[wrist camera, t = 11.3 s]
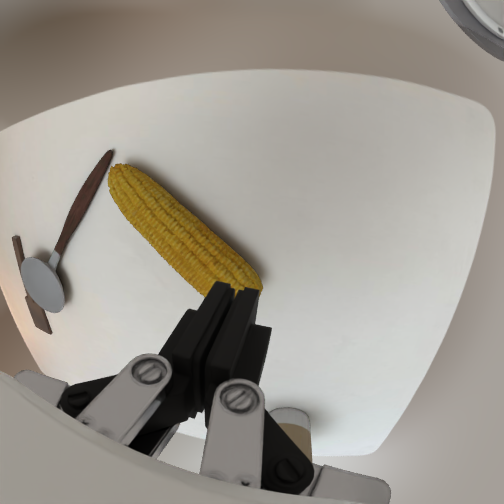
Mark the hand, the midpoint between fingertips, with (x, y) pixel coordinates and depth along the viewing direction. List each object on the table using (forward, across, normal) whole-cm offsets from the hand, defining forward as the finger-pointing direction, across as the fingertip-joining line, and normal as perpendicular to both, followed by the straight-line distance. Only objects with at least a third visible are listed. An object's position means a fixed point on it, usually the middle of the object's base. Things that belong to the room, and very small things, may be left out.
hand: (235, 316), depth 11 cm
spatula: (+18, +46, +23) cm, 55 cm away
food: (+19, +10, +6) cm, 22 cm away
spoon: (+19, +30, +10) cm, 37 cm away
